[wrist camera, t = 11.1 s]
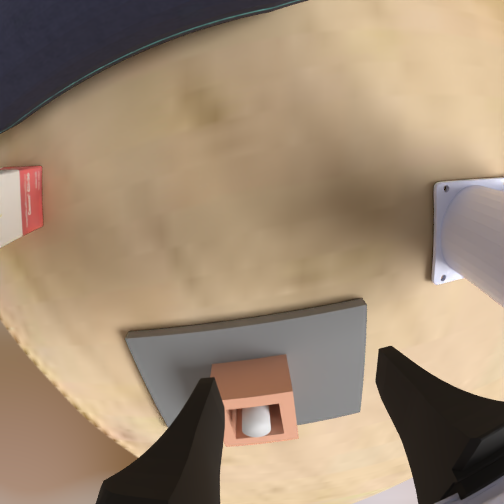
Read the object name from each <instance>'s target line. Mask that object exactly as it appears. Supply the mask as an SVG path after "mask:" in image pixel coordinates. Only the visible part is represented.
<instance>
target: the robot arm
mask: <svg viewBox="0 0 504 504" xmlns="http://www.w3.org/2000/svg"><path fill="white" fill-rule="evenodd" d="M503 182H504V177H499V178H482V179H468V180H454V181H442V182H437V183H436V184H435V185H434V246H433V265H432V278H431V279H432V282H433V283H434V284H435V285H438V284H442V283H446V282H450V281H454V280H457V279H461V278H465V279H467V280H468V281H469V282H471V283H472V284H473V285H475V286H476V287H478V288H479V289H480V290H481V291H483V292H484V293H485V294H487V295H488V296H489V297H491V298H492V299H493V300H494V301H496V302H497V303H498V304H500V305H501V306H502V307H503V308H504V185H503ZM445 186H446V190H445V191H444V187H445ZM442 276H443V278H442V279H441V277H442ZM375 382H376V385H377V388H378V391H379V394H380V396H381V399H382V401H383V403H384V405H385V408H386V410H387V412H388V414H389V416H390V417H391V419H392V421H393V423H394V425H395V427H396V430H397V432H398V434H399V436H400V438H401V440H402V443H403V446H404V449H405V452H406V455H407V458H408V461H409V465H410V468H411V472H412V476H413V479H414V484H415V488H416V493H417V498H418V504H504V402H502V401H496V400H492V399H488V398H484V397H480V396H477V395H474V394H471V393H468V392H466V391H463V390H461V389H458V388H456V387H454V386H452V385H450V384H448V383H446V382H444V381H442V380H440V379H439V378H437V377H435V376H434V375H432V374H430V373H429V372H427V371H426V370H424V369H423V368H421V367H420V366H418V365H417V364H415V363H414V362H413V361H411V360H410V359H409V358H407V357H406V356H405V355H403V354H402V353H401V352H399V351H398V350H397V349H395V348H394V347H392V346H388V347H384V348H380V349H379V353H378V363H377V373H376V381H375ZM224 431H225V407H224V404H223V401H222V398H221V395H220V392H219V389H218V386H217V383H216V380H215V377H209V378H201V379H200V380H199V381H198V383H197V385H196V387H195V388H194V390H193V392H192V394H191V395H190V397H189V399H188V400H187V402H186V403H185V405H184V407H183V408H182V410H181V411H180V413H179V414H178V416H177V417H176V418H175V420H174V421H173V422H172V424H171V425H170V426H169V428H168V429H167V430H166V431H165V432H164V434H163V435H162V436H161V437H160V438H159V439H158V440H157V441H156V442H155V443H154V444H153V445H152V446H151V447H150V448H149V449H148V450H147V451H146V452H145V453H144V454H143V455H142V456H140V457H139V458H138V459H137V460H135V461H134V462H133V463H131V464H130V465H129V466H127V467H126V468H124V469H123V470H121V471H120V472H118V473H117V474H115V475H113V476H111V477H109V478H108V479H106V480H104V481H103V484H102V486H101V488H100V492H99V495H98V498H97V501H96V504H220V465H221V457H222V449H223V440H224Z"/></svg>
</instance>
